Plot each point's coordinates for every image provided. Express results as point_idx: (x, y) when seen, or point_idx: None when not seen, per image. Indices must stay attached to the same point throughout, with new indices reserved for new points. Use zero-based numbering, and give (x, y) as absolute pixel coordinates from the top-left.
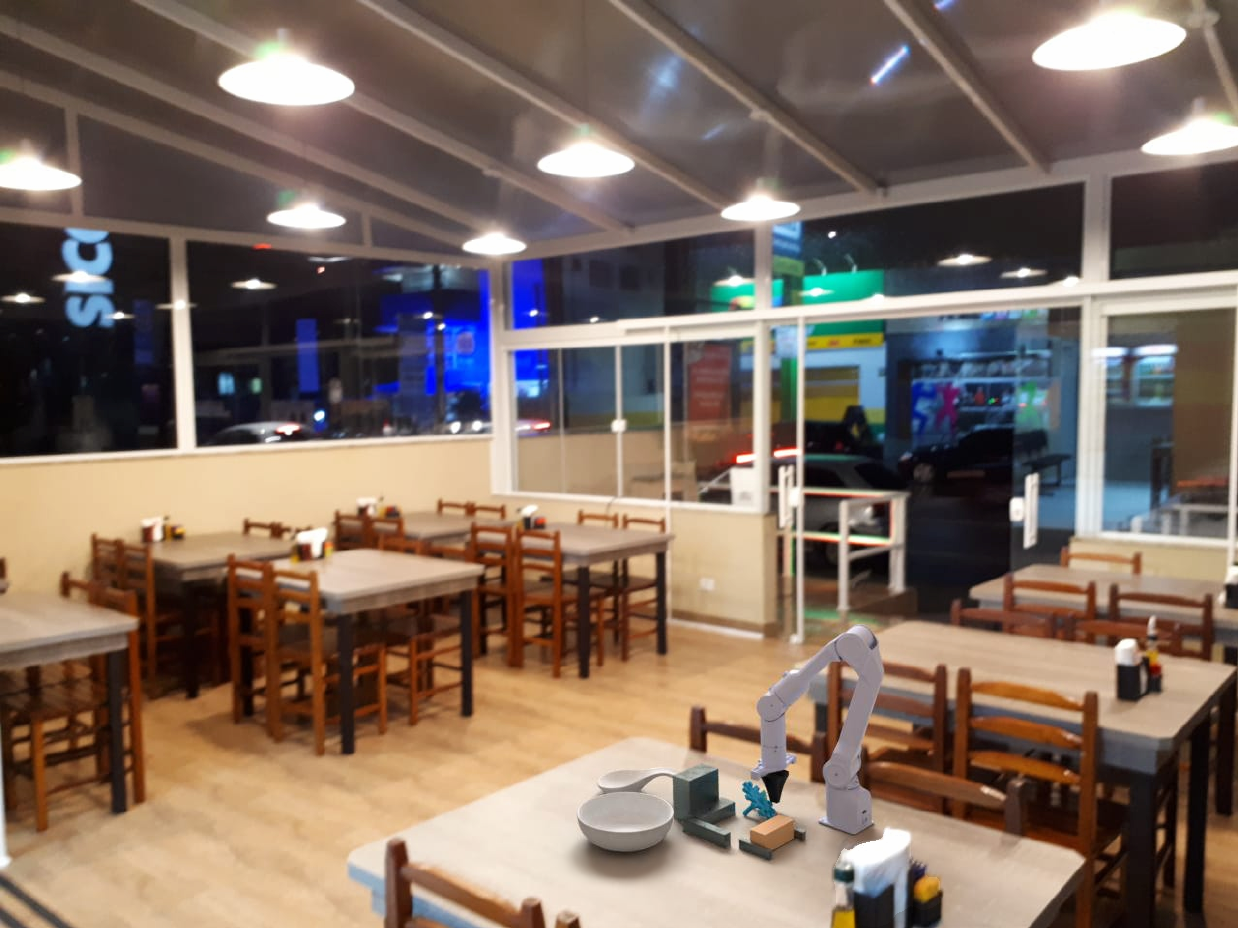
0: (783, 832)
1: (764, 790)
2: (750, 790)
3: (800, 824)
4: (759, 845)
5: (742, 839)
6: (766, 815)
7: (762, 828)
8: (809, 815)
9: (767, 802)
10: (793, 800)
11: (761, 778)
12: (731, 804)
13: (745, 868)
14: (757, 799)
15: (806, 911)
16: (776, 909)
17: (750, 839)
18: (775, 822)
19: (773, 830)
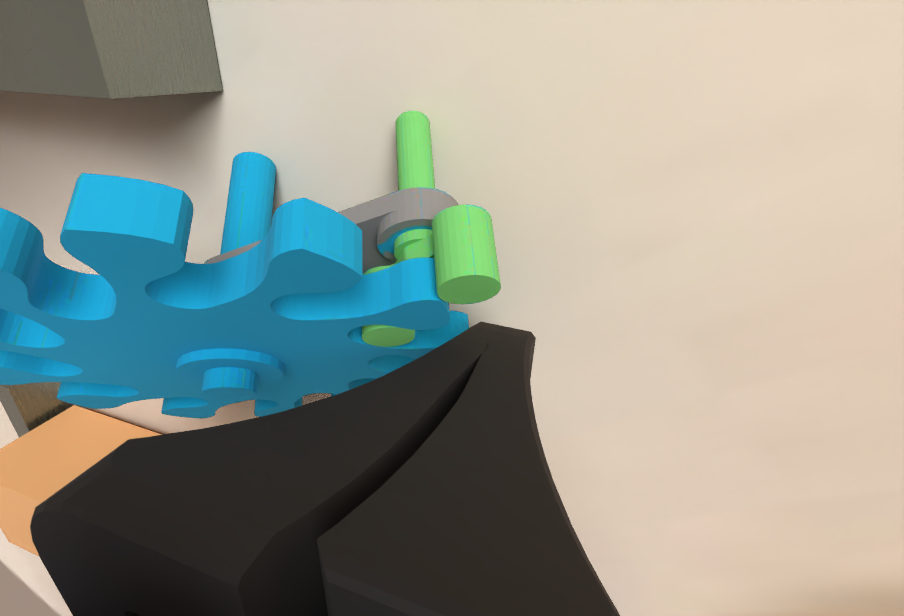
0: None
1: (475, 280)
2: (60, 330)
3: None
4: None
5: (5, 398)
6: (257, 401)
7: (24, 517)
8: (591, 558)
9: (368, 361)
10: (859, 393)
11: (217, 430)
12: (70, 95)
13: (13, 435)
14: (171, 372)
15: (65, 608)
16: (12, 554)
17: (31, 433)
18: None
19: None
